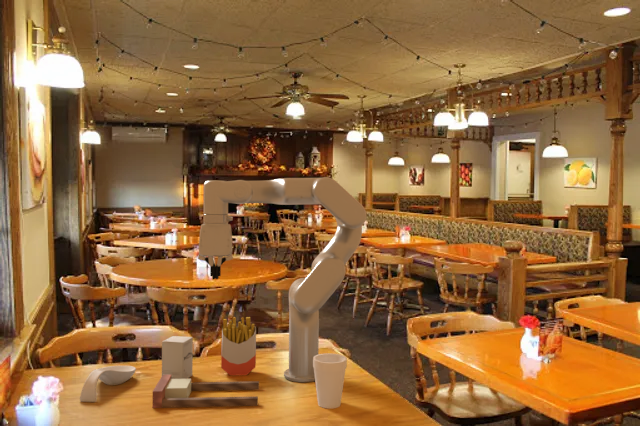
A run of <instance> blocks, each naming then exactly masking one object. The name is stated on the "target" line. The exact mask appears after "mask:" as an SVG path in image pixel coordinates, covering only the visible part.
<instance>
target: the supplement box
mask: <svg viewBox="0 0 640 426" xmlns="http://www.w3.org/2000/svg"><path fill="white" fill-rule="evenodd" d="M193 338H194V337H193V336H178V335H174V336H173V335H172V336H169V337H168V338H166V339H164V340H162V341H161V376H162V375H171V379H190V377H192V376H193V356H194V355H193V351H194V349H193V347H194V346H193V343H194V341H193Z"/></svg>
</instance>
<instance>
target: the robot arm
mask: <svg viewBox="0 0 640 426" xmlns="http://www.w3.org/2000/svg"><path fill="white" fill-rule="evenodd" d="M229 204H237V205H244V204H274V205H279V206H280V205H282V206H283V205H285V206H287V205H289V206H290V205H321V206H322V207H324V209H326V211H327V212H329V214H331V215H332V216H333V217H334V218H335V222H336V225H337V226H336V231H335V232H334V235H333V236H332V238H331V239H330V241H329V242H328V243H327V244H326V245H325V247H323V249H322V250H321V251H320V253H319V254H318V255H317V256H316V257H315V258H314V260H313V261H312V263H311V271H310V272H309V273H308V275H307V276H306V277H301V278H298V279H296V280H294V281H293V282H292V283H291V285H290V286H289V290H288V309H289V310H288V311H289V315H288V316H289V318H288V319H289V322H288V324H289V325H288V326H289V327H288V369H286V370H285V371H283V377H284V378H285V379H286V380H289V381H292V382H297V383H312V382H315V374H314V367H313V357H314V356H316V355H318V354H319V333H320V332H319V331H320V328H319V327H320V317H319V316H320V315H319V314H320V312H319V310H320V309H321V308H322V307H323V306H324V305H325V304H326V302H327V301H328V300H329V299H330V298H331V297H332V295H333V294H334V293H335V291H336V290H337V289H338V288H339V286H340V285H341V284H342V282H343V280H344V279H345V275H346V266H345V265H346V264H347V263H348V261H349V260H351V258H352V256H353V255H354V253H355V252H356V251H357V249H358V247H359V246H360V243H361V241H362V234H363V226H364V225H365V222H366V221H367V211H366V209H365V207H364V206H363V204H361V202H359V201H358V200H357V199H356V198H355V197H354V196H353V195H352V194H350V193H349V192H348V191H347V190H346V188H344V186H342V185H341V184H340V183H338V181H336V180H335V179H333V178H331V177H327V176H324V177H284V178H283V177H281V178H275V179H269V180H268V179H267V180H244V179H237V180H228V181H227V180H215V179H214V180H213V179H212V180H211V179H210V180H205V182H204V183H203V223H202V224H201V225H200V230H199V239H198V257H197V259H198V260H200V261H203V262H206V263H207V265H209V266H210V267H209V269H210V274H209V275H210V277H212V280H218V279H219V277H221V275H222V274H221V271H222V268H221V267H222V265H223V264H224V263H225V262H227V261H228V262H229V261H231V260H232V261H233V259H234V256H233V232H232V225H231V224H230V223H229V222H231V221H233V218H234V217H233V216H231V215H229ZM214 257H217V261H216V262H217V263H215V260H214Z"/></svg>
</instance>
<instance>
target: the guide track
mask: <svg viewBox="0 0 640 426" xmlns="http://www.w3.org/2000/svg"><path fill="white" fill-rule="evenodd" d="M170 379H171V375H162V374H161V377H160V379H159V380H158V382H157V384H156V385H155V387H154V388H153V390H152V409H156V408H157V409H159V408H198V407H199V408H201V407H202V408H203V407H204V408H206V407H207V408H208V407H210V408H211V407H213V408H214V407H250V406H251V407H253V406H254V407H255V406H257V407H258V404H259V403H258V402H259V398H258V397H259V396H217V397H216V396H214V397H208V396H207V397H188V398H165V388H166V386H167V384H168V383H169V381H170ZM248 390H249V391H251V390H252V391H253V390H255V391H256V390H258V391H259V390H260V381H259V380H258V381H255V380H253V381H202V382H200V381H199V382H198V381H197V382H192V381H191V392H197V391H199V392H201V391H204V392H206V391H248Z"/></svg>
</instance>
